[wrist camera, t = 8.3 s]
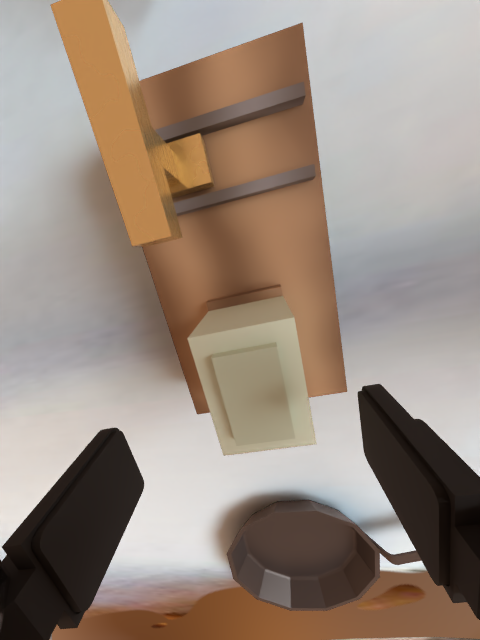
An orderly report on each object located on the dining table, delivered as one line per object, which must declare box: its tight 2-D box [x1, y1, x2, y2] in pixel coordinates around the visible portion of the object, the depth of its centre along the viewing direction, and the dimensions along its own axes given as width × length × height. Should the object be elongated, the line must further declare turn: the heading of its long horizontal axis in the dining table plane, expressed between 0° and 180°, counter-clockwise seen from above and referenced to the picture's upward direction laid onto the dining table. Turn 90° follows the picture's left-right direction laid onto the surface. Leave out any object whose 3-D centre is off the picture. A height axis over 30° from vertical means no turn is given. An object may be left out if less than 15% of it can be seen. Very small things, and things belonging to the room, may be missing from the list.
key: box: [51, 0, 214, 247], centre depth 12 cm, size 5×8×6 cm, turn 13°
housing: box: [139, 23, 347, 414], centre depth 18 cm, size 12×22×6 cm, turn 13°
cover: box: [187, 296, 316, 456], centre depth 14 cm, size 5×7×6 cm
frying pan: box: [227, 500, 421, 611], centre depth 27 cm, size 18×32×4 cm, turn 114°
